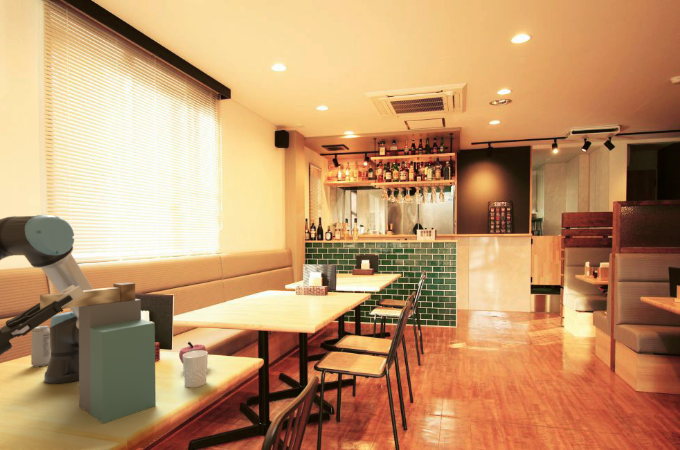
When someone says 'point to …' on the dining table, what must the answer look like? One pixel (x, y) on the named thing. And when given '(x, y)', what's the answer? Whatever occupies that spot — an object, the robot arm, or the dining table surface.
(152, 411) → the dining table surface
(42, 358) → the energy drink can
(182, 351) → the apple
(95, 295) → the wooden bar
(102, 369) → the stand
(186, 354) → the white cup
